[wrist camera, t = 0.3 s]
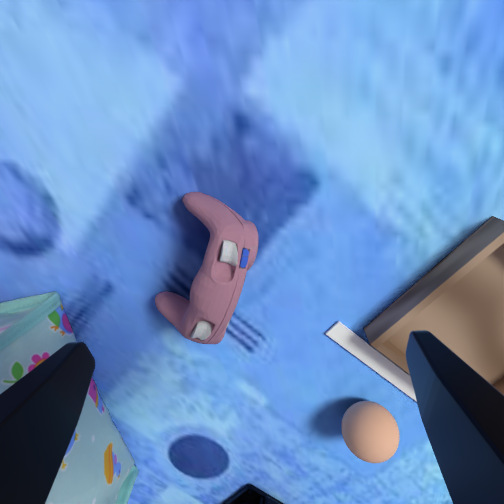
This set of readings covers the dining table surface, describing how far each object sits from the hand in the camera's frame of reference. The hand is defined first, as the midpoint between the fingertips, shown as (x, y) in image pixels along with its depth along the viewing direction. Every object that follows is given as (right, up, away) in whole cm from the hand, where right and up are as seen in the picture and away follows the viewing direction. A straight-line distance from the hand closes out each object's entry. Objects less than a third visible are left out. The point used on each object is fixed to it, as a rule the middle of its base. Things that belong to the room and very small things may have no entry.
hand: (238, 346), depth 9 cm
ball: (+10, -11, +20) cm, 25 cm away
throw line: (+13, -8, +19) cm, 24 cm away
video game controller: (-3, +2, +16) cm, 16 cm away
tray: (+18, -3, +16) cm, 24 cm away
